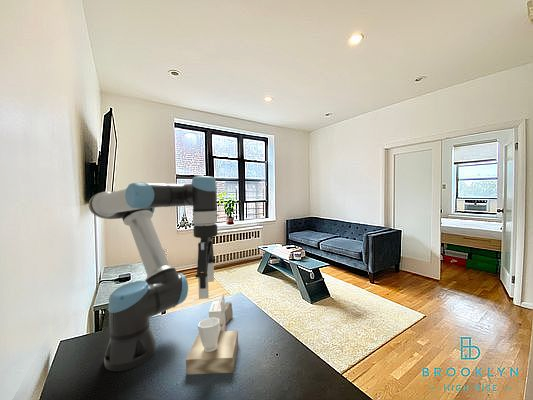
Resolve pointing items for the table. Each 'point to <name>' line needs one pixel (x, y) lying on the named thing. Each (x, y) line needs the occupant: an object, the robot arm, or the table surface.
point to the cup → (209, 333)
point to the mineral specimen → (228, 311)
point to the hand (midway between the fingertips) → (207, 289)
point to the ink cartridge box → (218, 312)
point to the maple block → (213, 355)
